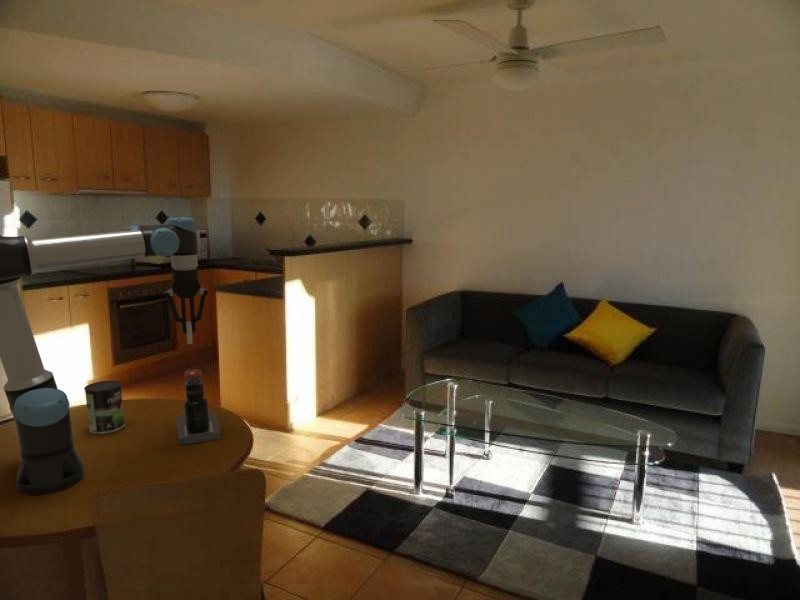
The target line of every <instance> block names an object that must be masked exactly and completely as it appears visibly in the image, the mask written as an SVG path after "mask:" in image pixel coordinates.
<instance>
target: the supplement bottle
mask: <svg viewBox="0 0 800 600" xmlns="http://www.w3.org/2000/svg"><path fill="white" fill-rule="evenodd" d="M203 390H204V389H203ZM203 390H202V389H193V390H190V391H188V392H187V399H188V400H187V401H186V400H185V401H184V403H183V407H184V408H183V409H184V416H185V420H186V429H187V431H189V432H194V433H195V432H202V431H205V430H207V429H208V428H209V426H210V424H209V412H210V411H209V402H208V399H206V398H205V394H204V393H205V392H204V393H203ZM203 397H204V398H203Z"/></svg>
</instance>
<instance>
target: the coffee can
mask: <svg viewBox="0 0 800 600" xmlns="http://www.w3.org/2000/svg"><path fill="white" fill-rule="evenodd" d="M84 392H85V394H84V395H85V402H86V411H87V418H88V419H87V420H88V428H89V429H88V431H89V433H90V434H95V435H106V434H110V433H114V432H118V431H121V430H122V429H123V428H124V427H125V425H126V423H125V416H124V415H125V413H124V405H123V394H122V393H123V392H122V382H121V381H118V380H112V379H111V380H102V381H101V380H100V381H97V382H92V383H89V384H87V385H86V386H85V387H84Z"/></svg>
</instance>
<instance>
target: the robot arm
mask: <svg viewBox="0 0 800 600" xmlns="http://www.w3.org/2000/svg"><path fill="white" fill-rule="evenodd" d="M197 250H198V249H197V230H196V223H195V220H194V219H193V218H192V217H169V218H168V222H167V224H161V225H160V224H157V225H155V224H150V225H149V224H148V225H147V224H146V225H142V224H141V225H139V224H138V225H134V226H133V225H132V226H131V225H130V226H128V227H127V228H126V230H122V231H111V232H99V233H89V234H79V235H76V234H75V235H67V236H65V235H64V236H57V237H56V236H55V237H47V238H35V239H33V238H31V239H30V238H29V237H28V236H26V235H20V236H19V235H18V236H3V235H1V234H0V361H1V364H2V367H3V369H4V373H5V375H6V378H7V381H6V383H5V384H4V385H3V388H2V389H3V391H4V393H5V396H6V399H7V402H8V405H9V410H10V413H11V414H12V416H13V420H14V423H15V426H16V431H17V436H18V437H17V438H18V443H19V444H18V445H19V450H20V457H21V459H20V463H19V468H18V471H17V475H16V479H15V484H16V490H17V491H18V493H20V494H23V495H27V496H39V495H48V494H52V493H56V492H57V493H58V492H60V491H62V490H65V489H67V488H70V487H72V486H73V485H76V484H77V483H78V482H80V481H81V480H82V479H83V478H84V475H85V466H84V463H83V461H82V459H81V458H80V456H79V454H78V452H77V451H76V448H75V446H74V437H73V431H72V422H71V414H70V413H71V412H70V406H71V405H70V401H69V399H68V395H67V394H66V393H65V391H63V390H62V389H58V386H57V383H56V382H57V381H56V379H55V377H54V374H53V372H52V371H50V370H48V369H45V367H44V364H43V361H42V356H41V355H40V352H39V349H38V346H37V343H36V338H35V337H34V333H33V331H32V328H31V324H30V321H29V317H28V314H27V312H26V309H25V306H24V304H23V300H22V297H21V294H20V290H19V287H18V285H19V284H20V282H21V280H22V277H26V276H27V277H28V276H33V275H35V274H34V273H36V272H37V271H40V270H48V269H49V270H50V269H58V268H67V267H75V266H81V265H88V264H89V265H90V264H98V263H105V262H107V263H108V262H113V261H114V262H115V261H121V260H122V261H123V260H129V259H138V258H147V257H156V256H159V257H170V261H171V268H172V269H171V276H172V277H171V278H172V285H171V288H170V289H168V290H167V291H164V295H165V297H166V298H167V300H168V301H169V305H170V307H171V311H172V314H173V317H174V319H175V322H176V323H181V326H182V327H181V328H182V333H183V334H186V344H187V345H191V344H193V333H196V332H197V331H196V330H197V329H196V328H197V327H196V322H198V321H202V316H203V311H204V306H205V301H206V298H207V295H208V294H209V290H208V289H207V288H204V287H202V285H201V284H200V280H199V279H200V278H199V269H198V268H197V267H198V266H199V264H198V251H197ZM198 292H199V294H200V296H199V302H198V306H197V313H195V297H196V295H197V294H198ZM174 294H175V295H176V296H177V297H178V298H179V300H180V312H181V317H180V314H179V313H178V309H177V307H176V304H175V300H174V298H173V296H174ZM186 299H188V302H189V303H188V304H189V313H190V314H189V318H190V321H187V311H186Z"/></svg>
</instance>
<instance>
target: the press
mask: <svg viewBox="0 0 800 600" xmlns="http://www.w3.org/2000/svg"><path fill="white" fill-rule="evenodd" d="M184 389H185V398H186V399H185V402H186V401H187V400H188V399H187V392H188V391H190V390H193V389H202V390H203V393H205V391H204V382H203V379H202V378H198V383H197V384H190V380H189V379H187V380H184ZM203 398H205V396H204V397H203ZM175 418H176V428H177V429H176V430H177V437H178V438H177V439H178V446H185V445H191V444H196V443H203V441H204V442H208V441H207V440H210V441H212V440H211V439H216V438H221V439H222V432H221V428H220V425H219V422H218V418H217V414H216V411H209V424H210V426H209V428H208V429H207V430H205V431H202V432H195V433H194V432H189V431H187V429H186V420H185V415H183V416H176V417H175ZM216 440H217V439H216Z"/></svg>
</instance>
